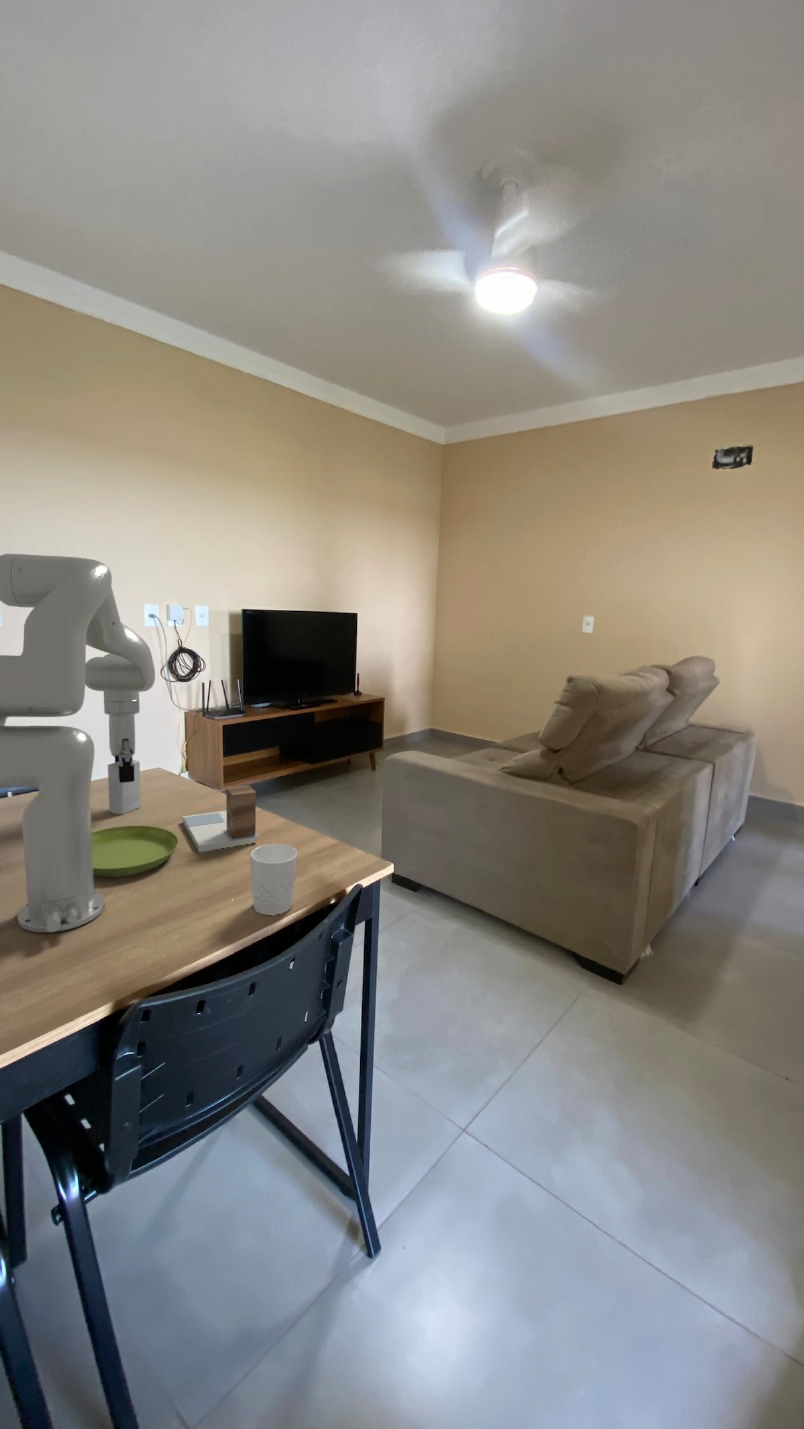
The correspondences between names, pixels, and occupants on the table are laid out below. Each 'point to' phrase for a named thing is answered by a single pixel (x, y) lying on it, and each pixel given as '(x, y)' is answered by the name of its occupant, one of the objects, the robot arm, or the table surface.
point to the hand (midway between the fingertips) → (124, 775)
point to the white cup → (273, 878)
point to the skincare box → (123, 790)
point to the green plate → (130, 849)
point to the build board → (212, 831)
